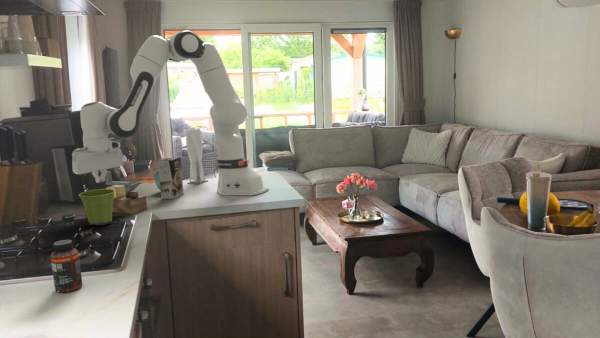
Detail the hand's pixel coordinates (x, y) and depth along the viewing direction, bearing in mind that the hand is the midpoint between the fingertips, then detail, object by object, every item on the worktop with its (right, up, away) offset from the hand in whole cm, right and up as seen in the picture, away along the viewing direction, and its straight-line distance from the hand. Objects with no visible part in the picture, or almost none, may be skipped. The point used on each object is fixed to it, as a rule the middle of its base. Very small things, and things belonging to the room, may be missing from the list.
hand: (100, 182), depth 200 cm
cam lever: (+6, -6, +3) cm, 9 cm away
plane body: (+8, -11, +3) cm, 14 cm away
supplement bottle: (+22, -23, -77) cm, 83 cm away
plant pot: (+7, -14, -17) cm, 24 cm away
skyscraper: (+26, -2, +54) cm, 60 cm away
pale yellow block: (+5, -6, +3) cm, 8 cm away
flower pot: (+17, -5, +36) cm, 40 cm away
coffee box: (+22, -7, +24) cm, 33 cm away
